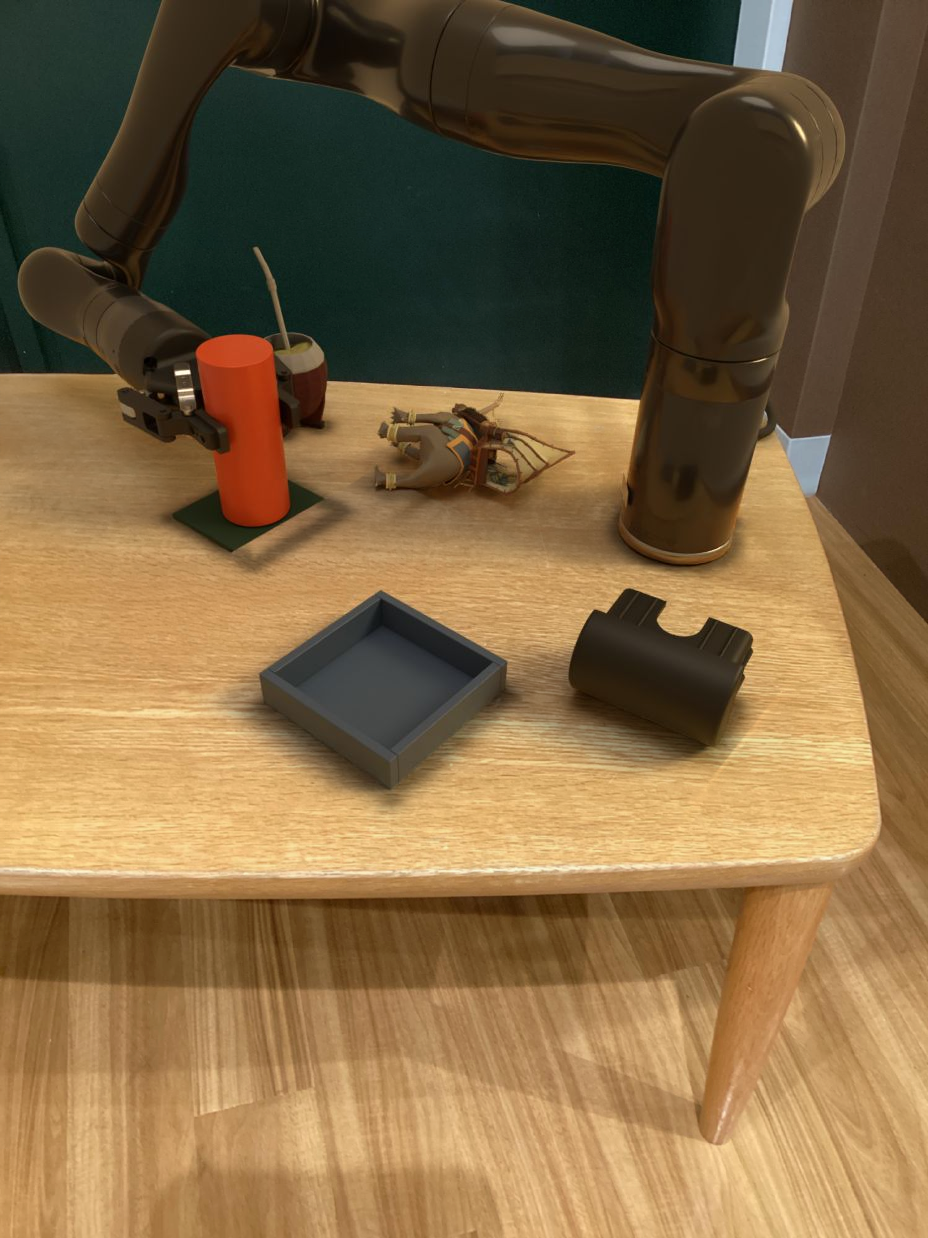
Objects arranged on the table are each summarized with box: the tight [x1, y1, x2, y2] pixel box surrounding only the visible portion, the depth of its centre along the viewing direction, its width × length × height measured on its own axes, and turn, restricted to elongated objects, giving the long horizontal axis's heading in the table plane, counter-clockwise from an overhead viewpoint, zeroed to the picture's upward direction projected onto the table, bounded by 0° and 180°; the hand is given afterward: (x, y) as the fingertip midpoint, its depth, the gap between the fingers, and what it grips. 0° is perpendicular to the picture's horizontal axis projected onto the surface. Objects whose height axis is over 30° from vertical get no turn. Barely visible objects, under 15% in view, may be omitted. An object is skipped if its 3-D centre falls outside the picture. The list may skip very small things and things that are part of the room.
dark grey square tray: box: [258, 589, 508, 791], centre depth 61 cm, size 11×11×3 cm
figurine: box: [374, 392, 576, 496], centre depth 81 cm, size 20×6×17 cm
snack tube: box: [196, 334, 290, 527], centre depth 73 cm, size 6×6×14 cm
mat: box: [171, 478, 326, 553], centre depth 78 cm, size 10×10×1 cm
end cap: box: [567, 587, 754, 747], centre depth 59 cm, size 10×7×7 cm
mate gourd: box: [252, 246, 328, 438], centre depth 85 cm, size 8×8×15 cm
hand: (260, 429), depth 70 cm, fingers closed on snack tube, 5 cm apart
